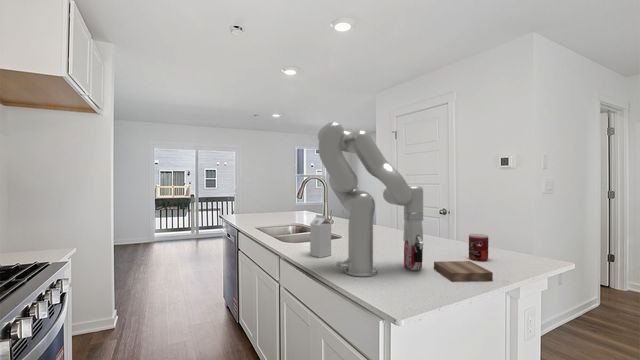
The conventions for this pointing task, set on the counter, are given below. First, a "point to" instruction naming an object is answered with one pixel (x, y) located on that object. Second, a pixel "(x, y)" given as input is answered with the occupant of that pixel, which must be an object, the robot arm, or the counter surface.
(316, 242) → the milk carton
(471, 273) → the walnut base
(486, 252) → the canned food
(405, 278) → the counter surface
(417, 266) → the soda can
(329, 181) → the robot arm
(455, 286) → the counter surface
